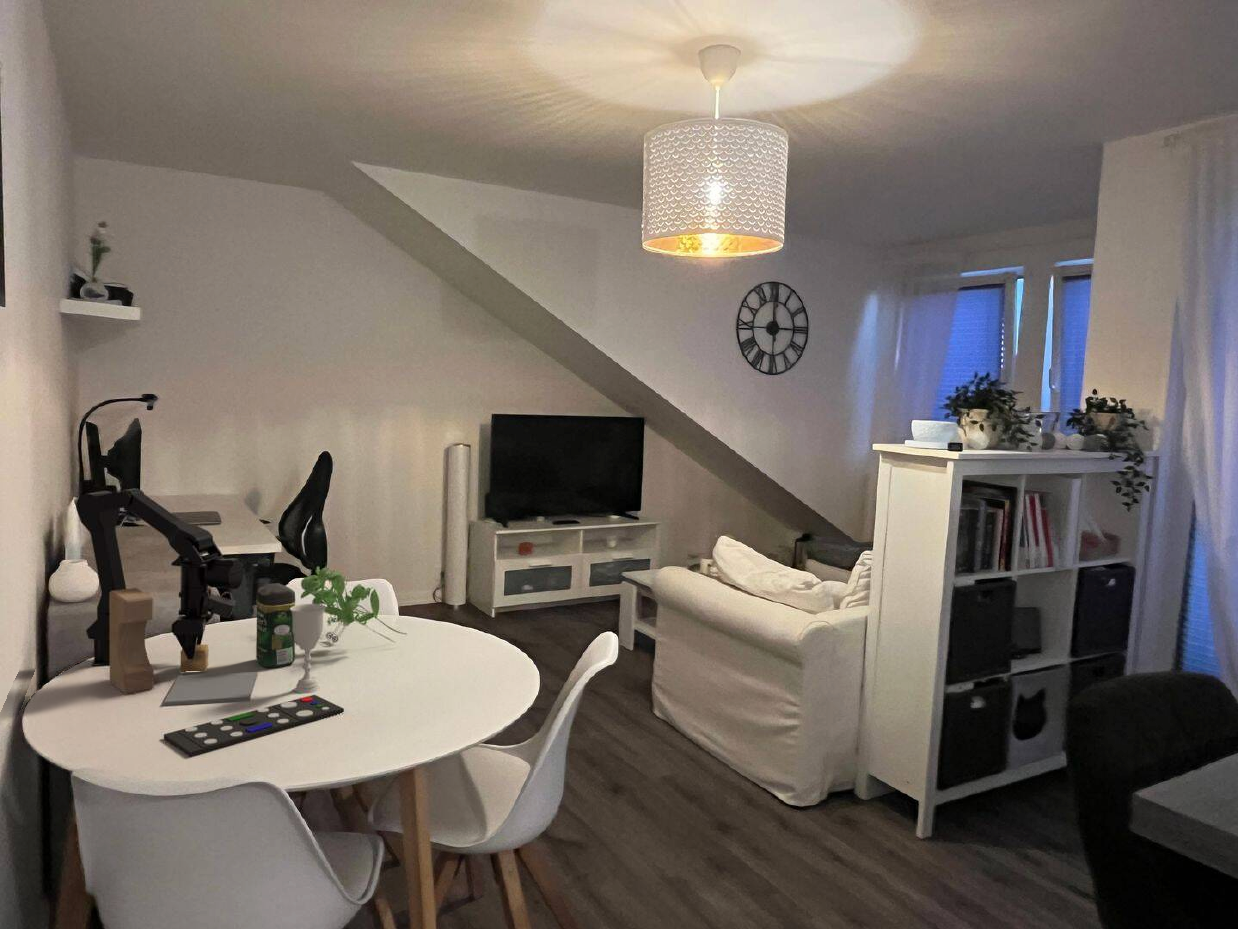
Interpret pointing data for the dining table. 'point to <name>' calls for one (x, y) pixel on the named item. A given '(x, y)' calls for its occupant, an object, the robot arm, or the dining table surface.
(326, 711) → the remote control
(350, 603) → the plant cuttings
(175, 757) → the dining table surface
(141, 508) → the robot arm
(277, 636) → the coffee jar
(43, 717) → the dining table surface
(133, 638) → the decorative block
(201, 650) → the oak cube
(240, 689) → the charcoal mat
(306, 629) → the chalice
